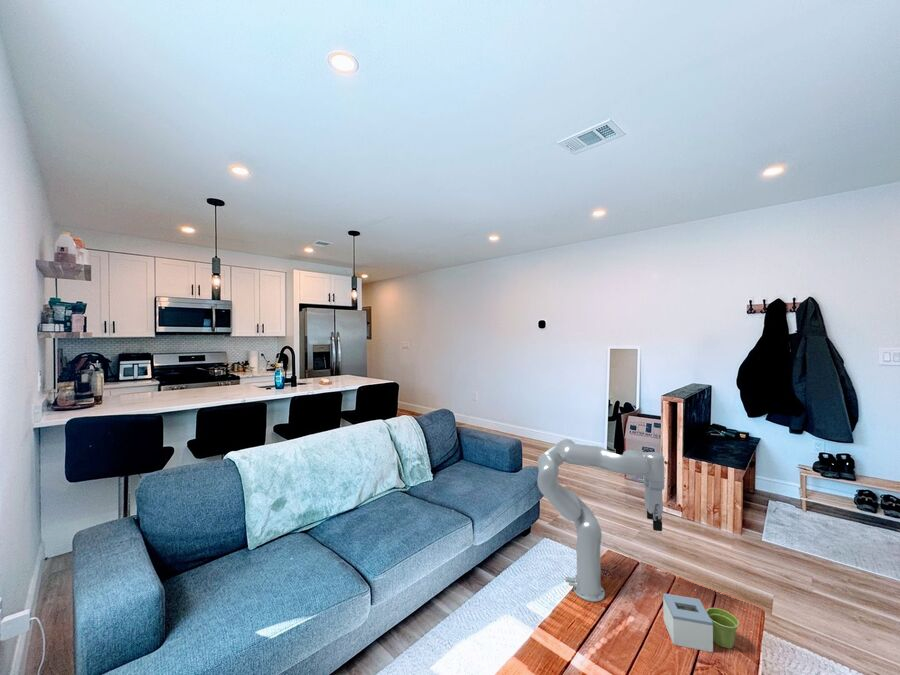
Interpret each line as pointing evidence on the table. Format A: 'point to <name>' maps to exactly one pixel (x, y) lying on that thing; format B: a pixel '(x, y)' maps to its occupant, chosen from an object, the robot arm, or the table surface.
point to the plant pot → (723, 627)
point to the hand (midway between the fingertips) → (654, 524)
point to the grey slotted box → (687, 622)
